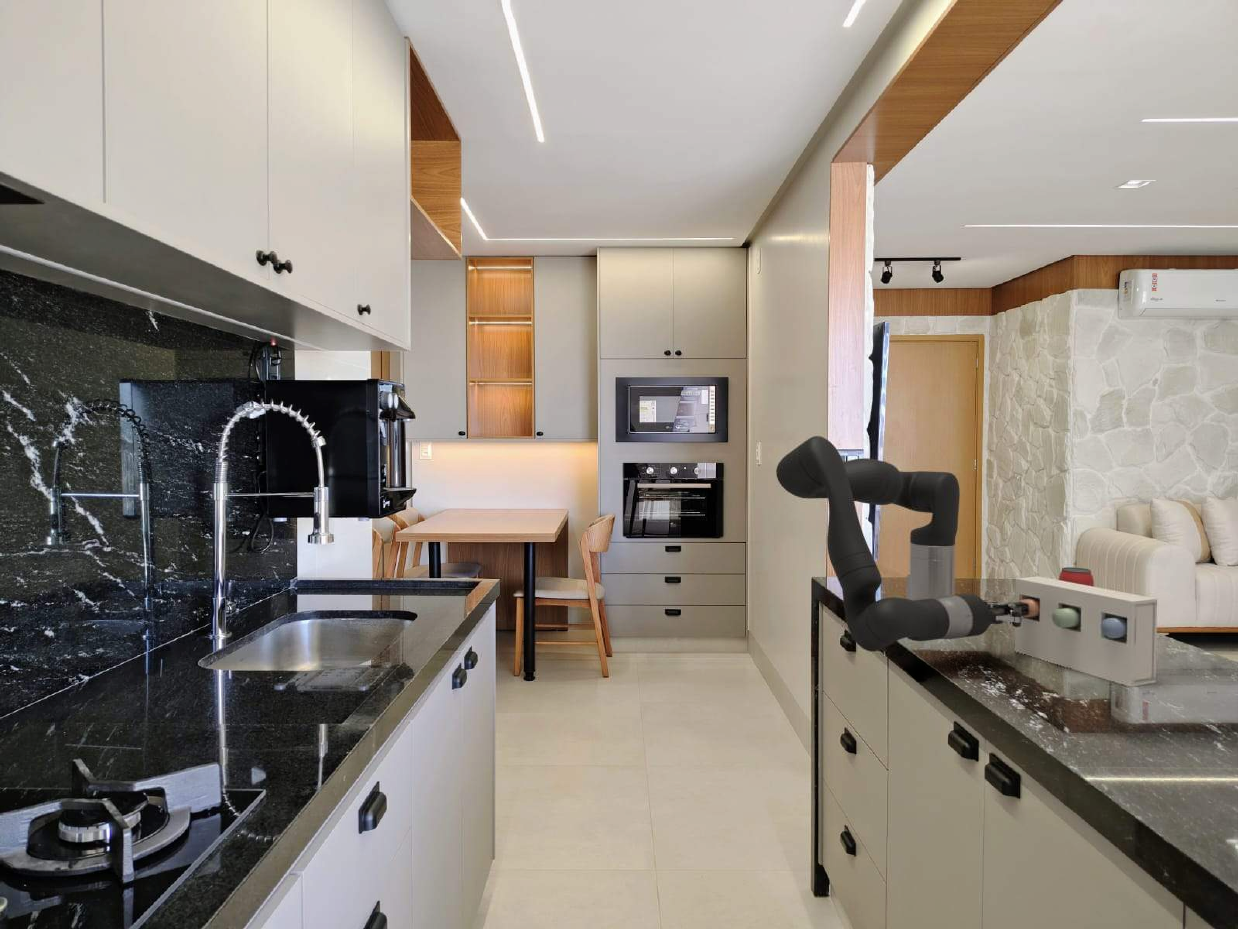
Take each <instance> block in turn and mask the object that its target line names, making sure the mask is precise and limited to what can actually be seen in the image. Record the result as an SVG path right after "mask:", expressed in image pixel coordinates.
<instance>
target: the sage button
mask: <svg viewBox="0 0 1238 929" xmlns="http://www.w3.org/2000/svg"><path fill="white" fill-rule="evenodd" d="M1052 620H1053V622H1054V624H1055V625H1056V626H1058V627H1060V628H1065V627H1073V626H1079V625H1081V611H1080V610H1079V609H1077V608H1065V609H1057V610H1055V611H1054V612H1053V614H1052Z"/></svg>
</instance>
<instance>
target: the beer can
mask: <svg viewBox="0 0 1238 929" xmlns="http://www.w3.org/2000/svg"><path fill="white" fill-rule="evenodd" d="M1060 571H1061V572H1060V574H1059V575H1058V580H1060V581H1066V582H1071V583H1076V584H1082V585H1087V586H1092V587H1095V586H1094V585H1095V584H1094V583H1095V580H1094V577H1093V575H1092V570H1091V569H1089V568H1084V567H1083V568H1082V567H1070V566H1069V567H1062V568H1061V570H1060Z"/></svg>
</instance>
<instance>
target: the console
mask: <svg viewBox="0 0 1238 929" xmlns="http://www.w3.org/2000/svg"><path fill="white" fill-rule="evenodd" d="M1035 598H1040V616H1033V617H1024V616H1021V625H1020V627H1015V626H1014V652H1015V651H1016V653H1017V652H1019V653H1018V654H1021V653H1022V655H1024V654H1027V655H1030V656H1032V657H1031V658H1034V657H1036V658H1035V659H1037V658H1039V659H1038V660H1040V659H1041V661H1043V662H1047V661H1048V663H1050V662H1051V664H1053V663H1054V665H1057V664H1058V666H1060V665H1061V667H1063V666H1064V668H1067V667H1068V668H1067V669H1070V668H1071V669H1070V670H1073V671H1077V672H1081V673H1082V674H1083V673H1084V674H1087V675H1090V676H1093V677H1096V678H1100V679H1104V680H1107V681H1109V682H1113V681H1114V682H1113V683H1116V684H1120V685H1122V684H1123V686H1127V687H1130V688H1132V687H1133V688H1134V687H1137V686H1138V687H1139V686H1145V685H1150V684H1156V674H1157V672H1156V671H1157V670H1156V668H1157V624H1158V623H1157V622H1158V598H1156V597H1150V596H1144V595H1138V594H1133V593H1129V592H1123V591H1118V590H1114V589H1113V590H1112V589H1109V588H1102V587H1097V586H1094V587H1092V586H1087V585H1082V584H1076V583H1071V582H1066V581H1060V580H1059V579H1054V578H1049V577H1044V576H1039V575H1038V576H1030V577H1028V576H1027V577H1018V578H1015V598H1014V601H1015V602H1020V601H1021V600H1026V599H1035ZM1015 602H1014V603H1015ZM1065 608H1077V609H1079V610H1080V611H1081V625H1079V626H1073V627H1065V628H1060V627H1058V626H1056V625H1055V624H1054V622H1053V620H1052V614H1053V612H1054V611H1055V610H1057V609H1065ZM1117 617H1126V618H1127V636H1126V637H1119V638H1108V637H1107V636H1105V635H1104V634H1103V632H1102V630H1101V623H1102V621H1103V620H1105V619H1109V618H1117ZM1027 655H1026V656H1027ZM1030 656H1029V657H1030Z"/></svg>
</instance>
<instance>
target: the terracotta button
mask: <svg viewBox="0 0 1238 929" xmlns="http://www.w3.org/2000/svg"><path fill="white" fill-rule="evenodd" d="M1020 602H1023V603H1028V604H1029V614H1028V615H1025V616H1024V617H1033V616H1040V598H1035V599H1026V600H1021V601H1020Z"/></svg>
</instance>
